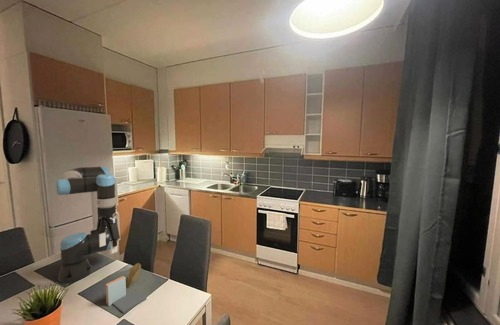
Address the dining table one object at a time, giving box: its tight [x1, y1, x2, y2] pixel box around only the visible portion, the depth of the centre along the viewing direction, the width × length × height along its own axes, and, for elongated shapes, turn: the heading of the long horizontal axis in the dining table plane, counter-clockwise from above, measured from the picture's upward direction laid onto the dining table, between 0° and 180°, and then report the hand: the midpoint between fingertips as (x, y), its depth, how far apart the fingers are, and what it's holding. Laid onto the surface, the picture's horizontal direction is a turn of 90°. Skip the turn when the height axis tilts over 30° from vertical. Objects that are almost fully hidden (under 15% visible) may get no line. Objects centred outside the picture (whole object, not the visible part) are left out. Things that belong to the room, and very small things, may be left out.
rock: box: [126, 262, 142, 289], centre depth 120 cm, size 11×9×10 cm
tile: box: [105, 275, 127, 307], centre depth 106 cm, size 2×8×10 cm, turn 147°
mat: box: [112, 290, 147, 314], centre depth 105 cm, size 10×11×1 cm
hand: (108, 249), depth 108 cm, fingers open, 11 cm apart
